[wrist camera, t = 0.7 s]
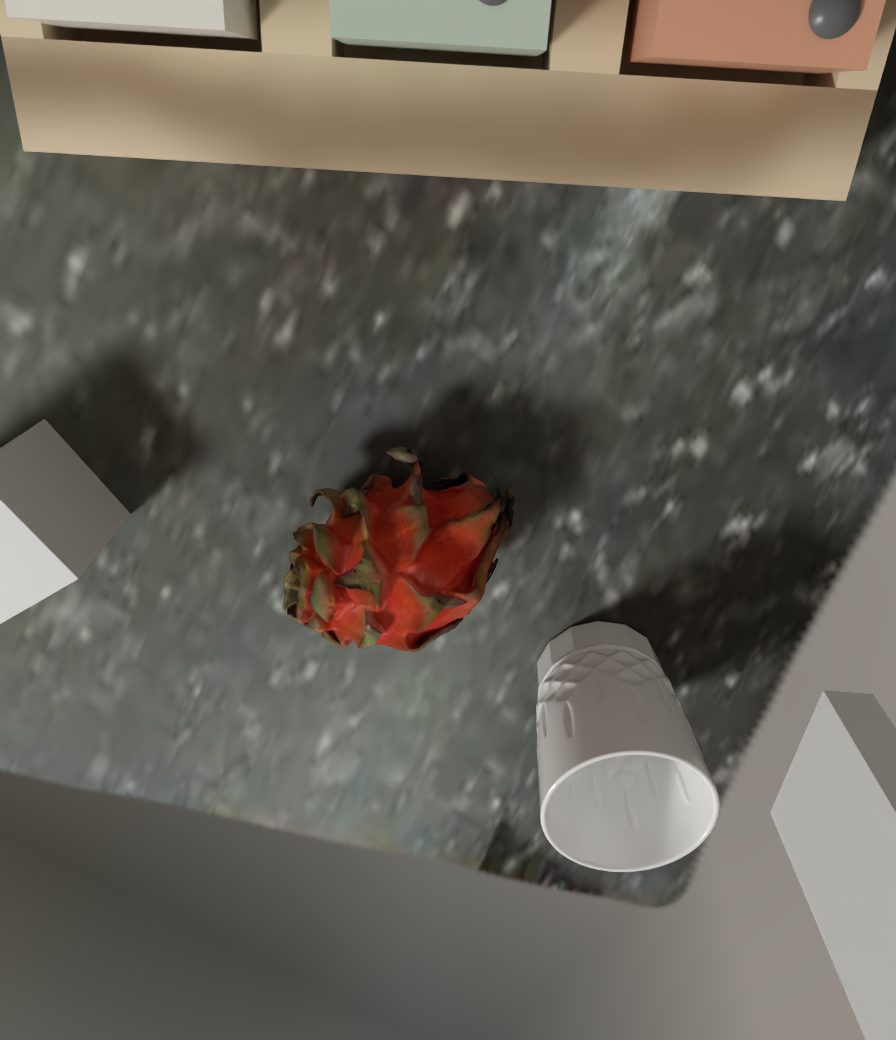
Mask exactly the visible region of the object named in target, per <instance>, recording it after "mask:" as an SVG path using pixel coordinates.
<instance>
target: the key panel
mask: <svg viewBox="0 0 896 1040" xmlns="http://www.w3.org/2000/svg"><path fill="white" fill-rule="evenodd" d="M634 6H635V0H551V10H550V21H549V31H548V41H547V50H546V51H545V52H543V53H541V54H540V55H538V56H537V57H527V56H511V55H495V54H479V53H463V52H447V51H430V50H414V49H398V48H382V47H366V46H349V45H347V44H345V43H342V42H340V41H338V40H336V39H334V38H331V37H330V3H329V0H256V13H257V30H258V40H252V39H236V38H220V37H204V36H188V35H172V34H155V33H139V32H123V31H107V30H91V29H75V28H66V27H61V26H55V25H49V24H44V23H38V22H33V21H27V20H22V19H16V18H11V17H8V16H7V11H6V6H5V1H4V0H0V34H1V39H2V44H3V49H4V54H5V59H6V64H7V69H8V74H9V79H10V84H11V89H12V94H13V99H14V104H15V110H16V115H17V120H18V125H19V130H20V135H21V140H22V145H23V150H24V151H33V152H50V153H66V154H83V155H99V156H115V157H132V158H148V159H165V160H181V161H198V162H214V163H230V164H247V165H263V166H280V167H296V168H313V169H329V170H345V171H362V172H378V173H395V174H411V175H427V176H444V177H460V178H477V179H493V180H510V181H526V182H542V183H559V184H575V185H592V186H608V187H625V188H641V189H657V190H674V191H690V192H707V193H723V194H740V195H756V196H772V197H789V198H805V199H822V200H838V201H846V199H847V195H848V192H849V188H850V185H851V181H852V178H853V174H854V171H855V167H856V164H857V160H858V157H859V153H860V150H861V146H862V143H863V139H864V136H865V132H866V129H867V126H868V122H869V119H870V115H871V112H872V108H873V105H874V101H875V98H876V94H877V91H878V87H879V84H880V80H881V77H882V73H883V70H884V66H885V63H886V60H887V56H888V53H889V49H890V46H891V42H892V39H893V35H894V32H895V28H896V0H886V2H885V5H884V9H883V12H882V16H881V20H880V23H879V27H878V30H877V34H876V37H875V41H874V45H873V48H872V52H871V55H870V59H869V63H868V66H867V70H861V71H848V72H834V73H821V74H802V73H786V72H770V71H754V70H738V69H721V68H705V67H689V66H673V65H657V64H641V63H626V61H627V54H628V48H629V41H630V34H631V27H632V20H633V13H634Z"/></svg>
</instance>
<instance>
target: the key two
mask: <svg viewBox="0 0 896 1040" xmlns="http://www.w3.org/2000/svg"><path fill="white" fill-rule="evenodd" d="M329 3H330V37H331V38H334V39H336V40H338V41H340V42H342V43H345V44H347V45H349V46H366V47H382V48H398V49H414V50H430V51H447V52H463V53H479V54H495V55H511V56H527V57H537V56H538V55H540V54H541V53H543V52H545V51H546V50H547V41H548V31H549V21H550V10H551V0H329Z"/></svg>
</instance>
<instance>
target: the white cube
mask: <svg viewBox="0 0 896 1040" xmlns="http://www.w3.org/2000/svg"><path fill="white" fill-rule="evenodd" d="M129 516H130V513H129V512H128V510H127V509H126V508H125V507H124V506H123V505H122V504H121V503H120V502H119V501H118V499H117V498H116V497H115V496H114V495H113V494H112V493H111V492H110V491H109V489H108V488H107V487H106V486H105V485H104V484H103V483H102V482H101V481H100V479H99V478H98V477H97V476H96V475H95V474H94V473H93V472H92V471H91V469H90V468H89V467H88V466H87V465H86V464H85V463H84V462H83V461H82V460H81V458H80V457H79V456H78V455H77V454H76V453H75V452H74V451H73V450H72V448H71V447H70V446H69V445H68V444H67V443H66V442H65V441H64V440H63V438H62V437H61V436H60V435H59V434H58V433H57V432H56V431H55V430H54V429H53V427H52V426H51V425H50V424H49V423H48V422H47V421H46V420H45V419H43V420H42V421H40V422H39V423H37V424H36V425H34V426H33V427H31V428H30V429H28V430H27V431H25V432H24V433H22V434H21V435H19V436H18V437H16V438H15V439H13V440H12V441H10V442H9V443H7V444H6V445H4V446H3V447H1V448H0V624H1V623H3V622H4V621H6V620H8V619H9V618H11V617H13V616H15V615H16V614H18V613H20V612H22V611H23V610H25V609H27V608H29V607H30V606H32V605H34V604H36V603H37V602H39V601H41V600H42V599H44V598H46V597H48V596H49V595H51V594H53V593H55V592H56V591H58V590H60V589H62V588H63V587H65V586H67V585H69V584H70V583H72V582H74V581H75V580H77V579H79V577H80V576H81V575H82V574H83V572H84V571H85V570H86V569H87V568H88V566H89V565H90V564H91V563H92V561H93V560H94V559H95V558H96V556H97V555H98V554H99V553H100V552H101V550H102V549H103V548H104V547H105V545H106V544H107V543H108V542H109V540H110V539H111V538H112V537H113V535H114V534H115V533H116V532H117V531H118V529H119V528H120V527H121V526H122V524H123V523H124V522H125V521H126V519H127V518H128V517H129Z"/></svg>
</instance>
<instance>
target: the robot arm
mask: <svg viewBox="0 0 896 1040" xmlns="http://www.w3.org/2000/svg"><path fill="white" fill-rule="evenodd" d="M770 813H771V815H772V818H773V820H774V823H775V825H776V828H777V830H778V832H779V835H780V837H781V839H782V842H783V844H784V847H785V849H786V851H787V854H788V856H789V859H790V861H791V863H792V866H793V868H794V870H795V873H796V875H797V878H798V880H799V882H800V884H801V887H802V890H803V892H804V894H805V897H806V899H807V901H808V904H809V906H810V909H811V911H812V913H813V916H814V918H815V921H816V923H817V925H818V928H819V930H820V933H821V935H822V937H823V940H824V942H825V944H826V947H827V949H828V952H829V954H830V956H831V958H832V961H833V964H834V966H835V968H836V970H837V973H838V975H839V977H840V980H841V983H842V985H843V987H844V990H845V992H846V994H847V997H848V999H849V1002H850V1004H851V1006H852V1009H853V1011H854V1014H855V1016H856V1018H857V1021H858V1023H859V1026H860V1028H861V1030H862V1033H863V1035H864V1038H865V1040H896V728H895V727H894V725H893V724H892V722H891V721H890V719H889V718H888V716H887V715H886V713H885V712H884V710H883V709H882V707H881V706H880V704H879V703H878V701H877V700H876V698H875V697H874V695H873V694H862V693H850V692H837V691H823V692H822V695H821V697H820V700H819V702H818V704H817V706H816V708H815V711H814V713H813V715H812V718H811V720H810V722H809V725H808V727H807V729H806V731H805V734H804V736H803V739H802V741H801V743H800V745H799V748H798V750H797V752H796V754H795V757H794V759H793V761H792V764H791V766H790V768H789V771H788V773H787V775H786V778H785V780H784V782H783V784H782V787H781V789H780V791H779V794H778V796H777V798H776V800H775V803H774V805H773V807H772V810H771V812H770Z"/></svg>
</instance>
